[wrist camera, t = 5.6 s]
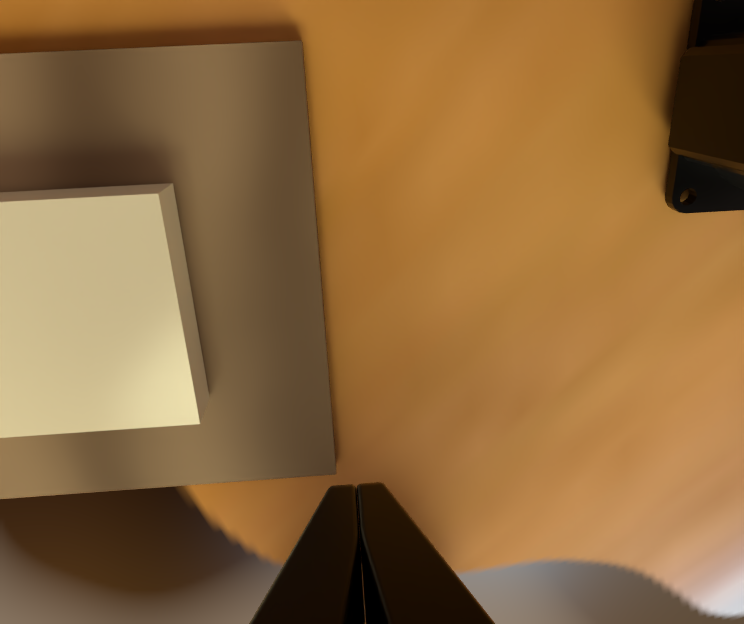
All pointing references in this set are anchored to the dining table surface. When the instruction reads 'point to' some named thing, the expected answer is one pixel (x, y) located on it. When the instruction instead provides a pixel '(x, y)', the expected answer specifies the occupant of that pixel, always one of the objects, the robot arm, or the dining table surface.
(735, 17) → the robot arm
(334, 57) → the dining table surface
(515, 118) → the dining table surface
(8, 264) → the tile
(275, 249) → the board
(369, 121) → the dining table surface
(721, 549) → the dining table surface
